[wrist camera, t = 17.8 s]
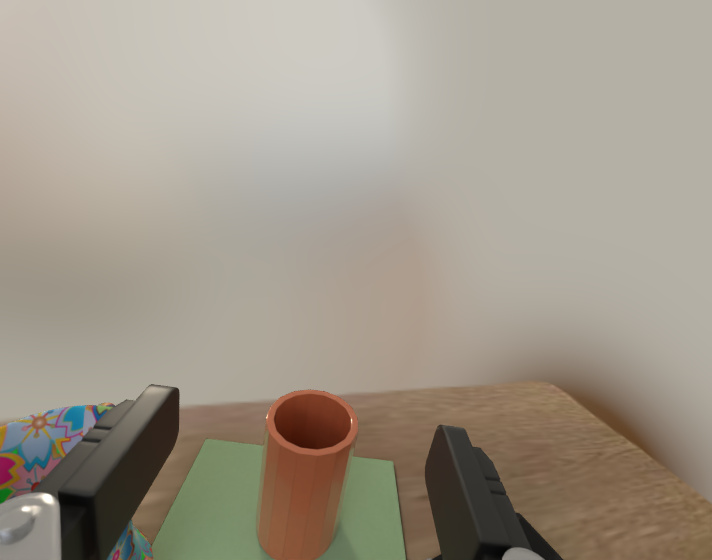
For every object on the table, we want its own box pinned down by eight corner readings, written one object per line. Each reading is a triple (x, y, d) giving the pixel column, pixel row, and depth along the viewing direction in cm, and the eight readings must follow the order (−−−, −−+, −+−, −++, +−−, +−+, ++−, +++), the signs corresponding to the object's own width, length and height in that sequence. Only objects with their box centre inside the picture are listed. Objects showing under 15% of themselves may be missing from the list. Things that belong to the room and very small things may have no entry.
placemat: (112, 625, 21) (112, 621, 21) (205, 440, 34) (206, 438, 34) (416, 650, 22) (418, 648, 22) (392, 463, 35) (393, 461, 35)
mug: (129, 700, 18) (105, 556, 14) (-106, 745, 16) (-201, 589, 12) (187, 487, 29) (181, 376, 25) (53, 497, 27) (26, 378, 23)
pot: (245, 560, 25) (256, 448, 21) (266, 482, 31) (277, 384, 27) (334, 569, 25) (358, 460, 22) (338, 491, 31) (357, 395, 28)
